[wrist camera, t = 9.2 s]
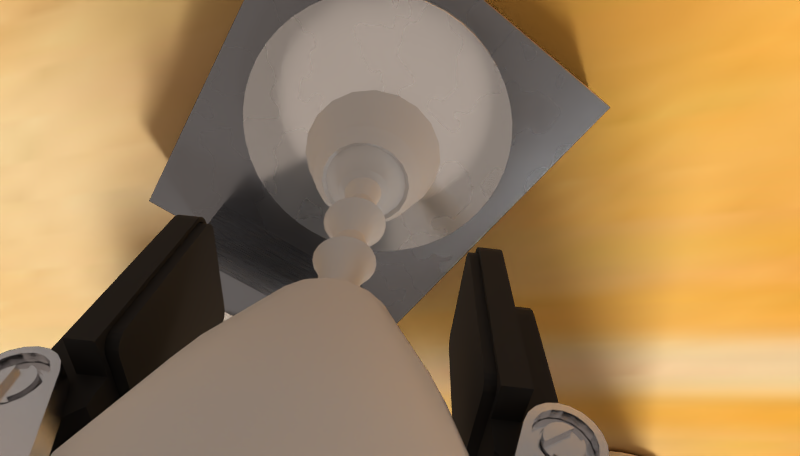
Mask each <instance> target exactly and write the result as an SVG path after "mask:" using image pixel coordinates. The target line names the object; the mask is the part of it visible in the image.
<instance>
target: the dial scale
mask: <svg viewBox="0 0 800 456" xmlns="http://www.w3.org/2000/svg"><path fill="white" fill-rule="evenodd" d="M370 90H377V91H381V92H386V93H390V94H394V95H398V96H400V97H401V98H403V99H404V100H406V101H408V102H409V103H411V104H413V105H414V106H416V107H417V108H418V109H419V110H420V111H421V112H422V114H423V115H424V116H425V117H426V118H427V119H428V120H429V122H430V123H431V124H432V127H433V129H434V132H435V134H436V137H437V139H438V142H439V153H440V165H439V168H438V171H437V175H436V178H435V181H434V183H433V184H432V186H431V187H430V188H429V190H428V191H427V193H426V194H425V195H424V197H423V198H421V199H420V200H419V201H417V202H416V203H415V204H413V205H412V206H411V207H409V209H407V210H406V211H405V212H403V213H402V214H401V215H399V216H398V217H397V218H394V219H391V220H388V221H385V223H386V227H385V231H384V234H383V236H382V237H381V238H380V240H379V241H378V242H376V243H375V244H374V245H372V246H370V248H371V249H372V251H373V253H374V255H375V256H376V268H375V272H374V273H373V275H372V276H371V277H370V279H369V280H367V281H366V282H364V283H363V284H361V285H360V287H361V288H363V289H366V290H368V291H369V292H370V293H372V294H373V295H374V296H375V297H376V298H377V299H378V300H380V301H381V302H382V303H383V304H384V305H385V307H386V308H387V310H388V311H389V313H390V315H391V316H392V318H393V319H394V321H395V322H396V324H397V323H398V322H399V321H400V320H401V319H402V318H403V317H404V316H405V315H406V314H407V313H408V312H409V311H410V310H411V309H412V308H413V307H414V306H415V305H416V304H417V303H418V302H419V301H420V300H421V299H422V298H423V297H424V296H425V295H426V294H427V293H428V292H429V291H430V289H431V288H432V287H433V286H434V285H435V284H436V283H437V282H438V281H439V280H440V279H441V278H442V277H443V276H444V275H445V274H446V273H447V272H448V271H449V270H450V269H451V268H452V267H453V266H454V265H455V264H456V263H457V262H458V261H459V260H460V259H461V258H462V257H463V256H464V255H465V254H466V253H467V252H468V251H469V250H470V249H471V248H472V247H473V246H474V245H475V244H476V243H477V242H478V241H479V240H480V239H481V238H482V237H483V236H484V235H485V234H486V233H487V232H488V231H489V230H490V229H491V228H492V227H493V226H494V225H495V224H496V223H497V222H498V221H499V220H500V219H501V218H502V217H503V216H504V215H505V214H506V213H507V212H508V210H509V209H510V208H511V207H512V206H513V205H514V204H515V203H516V202H517V201H518V200H519V199H520V198H521V197H522V196H523V195H524V194H525V193H526V192H527V191H528V190H529V189H530V188H531V187H532V186H533V185H534V184H535V183H536V182H537V181H538V180H539V179H540V178H541V177H542V176H543V175H544V174H545V173H546V172H547V171H548V170H549V169H550V168H551V167H552V166H553V165H554V164H555V163H556V162H557V161H558V160H559V159H560V158H561V157H562V156H563V155H564V154H565V153H566V152H567V151H568V150H569V149H570V148H571V147H572V146H573V145H574V144H575V143H576V142H577V141H578V140H579V139H580V138H581V137H582V136H583V135H584V134H585V133H586V131H587V130H588V129H589V128H590V127H591V126H592V125H593V124H594V123H595V122H596V121H597V120H598V119H599V118H600V117H601V116H602V115H603V114H604V113H605V112H606V111H607V110H608V109H609V108H610V107H609V106H608V105H607V104H606V103H605V102H604V101H603V100H601V99H600V98H599V97H598V96H597V95H596V94H595V93H594V92H593V91H592V90H591V89H589V88H588V87H587V86H586V85H585V84H584V83H582V82H581V81H580V80H579V79H578V78H577V77H575V76H574V75H573V74H572V73H571V72H569V71H568V70H567V69H566V68H565V67H564V66H562V65H561V64H560V63H559V62H558V61H556V60H555V59H554V58H553V57H552V56H551V55H549V54H548V53H547V52H546V51H545V50H543V49H542V48H541V47H540V46H539V45H538V44H536V43H535V42H534V41H533V40H532V39H530V38H529V37H528V36H527V35H526V34H525V33H523V32H522V31H521V30H520V29H519V28H518V27H516V26H515V25H514V24H513V23H512V22H510V21H509V20H508V19H507V18H506V17H505V16H503V15H502V14H501V13H500V12H499V11H497V10H496V9H495V8H494V7H493V6H492V5H490V4H489V3H488V2H487V1H486V0H244V1H243V4H242V6H241V8H240V10H239V12H238V14H237V16H236V18H235V20H234V23H233V25H232V27H231V29H230V31H229V33H228V35H227V37H226V39H225V42H224V44H223V46H222V48H221V50H220V52H219V54H218V56H217V59H216V61H215V63H214V65H213V67H212V69H211V71H210V73H209V75H208V78H207V80H206V82H205V84H204V86H203V88H202V90H201V92H200V94H199V97H198V99H197V101H196V103H195V105H194V107H193V109H192V111H191V114H190V116H189V118H188V120H187V122H186V124H185V126H184V128H183V130H182V133H181V135H180V137H179V139H178V141H177V143H176V145H175V147H174V149H173V152H172V154H171V156H170V158H169V160H168V162H167V164H166V166H165V168H164V171H163V173H162V175H161V177H160V179H159V181H158V183H157V185H156V188H155V190H154V192H153V194H152V196H151V198H150V200H149V201H150V202H152V203H154V204H155V205H157V206H159V207H161V208H163V209H164V210H166V211H168V212H170V213H172V214H173V215H175V216H176V215H188V216H197V217H203V218H204V219H205V220H206V223H207V224H211V225H212V226H213V229H214V236H215V243H216V250H217V257H218V264H219V272H220V279H221V286H222V293H223V300H224V308H225V315H224V320H223V322H224V321H226V320H227V319H229V318H231V317H232V316H234V315H236V314H237V313H239V312H241V311H243V310H244V309H246V308H248V307H249V306H251V305H253V304H255V303H256V302H258V301H260V300H261V299H263V298H265V297H266V296H268V295H270V294H272V293H273V292H275V291H277V290H278V289H280V288H282V287H284V286H286V285H289V284H292V283H294V282H297V281H300V280H303V279H315V278H318V274H317V272H316V271H315V269H314V266H313V261H312V259H313V254H314V251H315V250H316V248H317V247H318V245H320V244H321V243H322V242H324V241H325V240H327V239H330V238H329V236H328V234H327V233H326V231H325V227H324V218H325V213H326V212H327V210H328V209H329V206H328V205H327V204H326V203H325V202H324V201H323V199H322V197H321V195H320V194H319V192H318V190H317V188H316V184H315V183H314V181H313V177H312V175H311V173H310V172H309V167H308V162H307V157H306V145H307V137H308V132H309V130H310V128H311V126H312V124H313V122H314V120H315V118H316V116H317V115H318V114H319V113H320V112H321V111H322V110H323V109H324V108H325V107H326V106H327V105H328V104H330V103H331V102H332V101H333V100H335V99H338V98H340V97H342V96H344V95H347V94H349V93H351V92H358V91H370Z"/></svg>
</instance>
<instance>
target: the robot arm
mask: <svg viewBox="0 0 800 456" xmlns="http://www.w3.org/2000/svg"><path fill="white" fill-rule="evenodd" d="M224 315H225V308H224V300H223V293H222V286H221V279H220V272H219V264H218V257H217V250H216V243H215V236H214V229H213V226H212V225H211V224H207V223H206V220H205V219H204V218H203V217H197V216H188V215H176V216H175V217H174V218H173V219H172V220H171V221H170V222H169V223H168V224H167V225H166V226H165V227H164V228H163V230H162V231H161V232H160V233H159V234H158V235H157V236H156V237H155V238H154V239H153V240H152V241H151V242H150V243H149V245H148V246H147V247H146V248H145V249H144V250H143V251H142V252H141V253H140V254H139V255H138V256H137V257H136V259H135V260H134V261H133V262H132V263H131V264H130V265H129V266H128V267H127V268H126V269H125V270H124V271H123V272H122V274H121V275H120V276H119V277H118V278H117V279H116V280H115V281H114V282H113V283H112V284H111V285H110V286H109V288H108V289H107V290H106V291H105V292H104V293H103V294H102V295H101V296H100V297H99V298H98V299H97V300H96V301H95V303H94V304H93V305H92V306H91V307H90V308H89V309H88V310H87V311H86V312H85V313H84V314H83V315H82V316H81V318H80V319H79V320H78V321H77V322H76V323H75V324H74V325H73V326H72V327H71V328H70V329H69V330H68V332H67V333H66V334H65V335H64V336H63V337H62V338H61V339H60V340H59V341H58V342H57V343H56V344H55V346H54V347H53V348H52V349H49V348H44V347H39V346H36V347H22V348H18V349H13V350H9V351H6V352H4V353H1V354H0V456H51V454H52V453H53V452H54V451H55V450H56V449H57V448H59V447H60V446H61V445H62V444H64V443H65V442H66V441H67V440H68V439H70V438H71V437H72V436H73V435H75V434H76V433H77V432H78V431H80V430H81V429H82V428H83V427H85V426H86V425H87V424H88V423H90V422H91V421H92V420H93V419H95V418H96V417H97V416H98V415H100V414H101V413H102V412H103V411H105V410H106V409H107V408H108V407H110V406H111V405H112V404H113V403H115V402H116V401H117V400H118V399H120V398H121V397H122V396H123V395H125V394H126V393H127V392H128V391H130V390H131V389H132V388H133V387H135V386H136V385H137V384H138V383H140V382H141V381H142V380H143V379H145V378H146V377H147V376H148V375H150V374H151V373H152V372H153V371H155V370H156V369H157V368H158V367H160V366H161V365H162V364H163V363H165V362H166V361H167V360H168V359H169V358H171V357H172V356H173V355H175V354H176V353H177V352H179V351H180V350H181V349H183V348H184V347H185V346H187V345H188V344H189V343H191V342H192V341H193V340H195V339H196V338H197V337H199V336H200V335H202V334H203V333H205V332H207V331H208V330H210V329H212V328H214V327H215V326H217V325H219V324H220V323H222V322H223V320H224ZM449 358H450V380H451V401H452V418H453V420H454V423H455V425H456V427H457V429H458V432H459V434H460V436H461V438H462V441H463V443H464V445H465V447H466V450H467V452H468V454H469V456H636V455H632V454H627V453H623V452H614V451H609V450H608V444H607V442H606V440H605V438H604V435H603V433H602V432H601V431H600V429H599V428H598V427H597V426H596V424H595V423H594V422H593V421H592V420H591V419H589V418H588V417H587V416H586V415H585V414H583V413H582V412H580V411H578V410H576V409H574V408H572V407H570V406H567V405H563V404H560V403H558V399H557V396H556V392H555V388H554V385H553V381H552V378H551V374H550V370H549V367H548V363H547V360H546V356H545V352H544V349H543V345H542V342H541V338H540V334H539V331H538V327H537V324H536V320H535V316H534V314H533V311H532V310H531V309H530V308H522V307H515V305H514V300H513V296H512V292H511V287H510V283H509V279H508V274H507V270H506V266H505V262H504V257H503V253H502V251H501V250H497V249H488V248H479V247H478V248H477V249H476V252H475V253H469V252H468V254H467V257H466V262H465V267H464V271H463V276H462V281H461V286H460V290H459V295H458V300H457V305H456V310H455V314H454V319H453V324H452V329H451V333H450V341H449Z"/></svg>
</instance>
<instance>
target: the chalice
mask: <svg viewBox="0 0 800 456" xmlns="http://www.w3.org/2000/svg"><path fill="white" fill-rule="evenodd" d="M306 157H307V162H308V167H309V172H310V173H311V175H312V177H313V181H314V183H315V184H316V188H317V190H318V192H319V194H320V195H321V197H322V199H323V201H324V202H325V203H326V204H327V205H328V206H329V209H328V210H327V212H326V213H325V218H324V227H325V231H326V233H327V234H328V236H329V238H330V239H327V240H325V241H324V242H322V243H321V244H320V245H318V247H317V248H316V250H315V251H314V254H313V259H312V261H313V266H314V269H315V271H316V272H317V274H318V278H315V279H303V280H300V281H297V282H294V283H292V284H289V285H286V286H284V287H282V288H280V289H278V290H277V291H275V292H273V293H272V294H270V295H268V296H266V297H265V298H263V299H261V300H260V301H258V302H256V303H255V304H253V305H251V306H249V307H248V308H246V309H244V310H243V311H241V312H239V313H237V314H236V315H234V316H232V317H231V318H229V319H227V320H226V321H224V322H222V323H220V324H219V325H217V326H215V327H214V328H212V329H210V330H208V331H207V332H205V333H203V334H202V335H200V336H199V337H197V338H196V339H195V340H193V341H192V342H191V343H189V344H188V345H187V346H185V347H184V348H183V349H181V350H180V351H179V352H177V353H176V354H175V355H173V356H172V357H171V358H169V359H168V360H167V361H166V362H165V363H163V364H162V365H161V366H160V367H158V368H157V369H156V370H155V371H153V372H152V373H151V374H150V375H148V376H147V377H146V378H145V379H143V380H142V381H141V382H140V383H138V384H137V385H136V386H135V387H133V388H132V389H131V390H130V391H128V392H127V393H126V394H125V395H123V396H122V397H121V398H120V399H118V400H117V401H116V402H115V403H113V404H112V405H111V406H110V407H108V408H107V409H106V410H105V411H103V412H102V413H101V414H100V415H98V416H97V417H96V418H95V419H93V420H92V421H91V422H90V423H88V424H87V425H86V426H85V427H83V428H82V429H81V430H80V431H78V432H77V433H76V434H75V435H73V436H72V437H71V438H70V439H68V440H67V441H66V442H65V443H64V444H62V445H61V446H60V447H59V448H57V449H56V450H55V451H54V452H53V453H52V454H51V456H469V454H468V452H467V450H466V447H465V445H464V443H463V441H462V438H461V436H460V434H459V432H458V429H457V427H456V425H455V423H454V420H453V418H452V416H451V414H450V411H449V409H448V407H447V405H446V403H445V401H444V399H443V397H442V396H441V394H440V392H439V390H438V388H437V386H436V385H435V383H434V381H433V379H432V377H431V375H430V374H429V372H428V371H427V369H426V368H425V366H424V365H423V363H422V362H421V360H420V359H419V357H418V356H417V354H416V352H415V351H414V349H413V348H412V346H411V345H410V343H409V342H408V340H407V339H406V337H405V336H404V334H403V333H402V331H401V330H400V328H399V327H398V325H397V324H396V322H395V321H394V319H393V318H392V316H391V315H390V313H389V311H388V310H387V308H386V307H385V305H384V304H383V303H382V302H381V301H380V300H378V299H377V298H376V297H375V296H374V295H373V294H372V293H370V292H369V291H368V290H366V289H363V288H361V287H360V285H361V284H363V283H364V282H366V281H367V280H369V279H370V277H371V276H372V275H373V273H374V272H375V268H376V256H375V255H374V253H373V251H372V249H371V248H370V246H372V245H374V244H375V243H376V242H378V241H379V240H380V238H381V237H382V236H383V234H384V231H385V227H386V223H385V221H388V220H391V219H394V218H397V217H398V216H399V215H401V214H402V213H403V212H405V211H406V210H407V209H409V207H411V206H412V205H413V204H415V203H416V202H417V201H419V200H420V199H421V198H423V197H424V195H425V194H426V193H427V191H428V190H429V188H430V187H431V186H432V184H433V183H434V181H435V178H436V175H437V171H438V168H439V165H440V153H439V142H438V139H437V137H436V134H435V132H434V129H433V127H432V124H431V123H430V122H429V120H428V119H427V118H426V117H425V116H424V115H423V114H422V112H421V111H420V110H419V109H418V108H417V107H416V106H414V105H413V104H411V103H409V102H408V101H406V100H404V99H403V98H401V97H400V96H398V95H394V94H390V93H386V92H381V91H377V90H370V91H358V92H351V93H349V94H347V95H344V96H342V97H340V98H338V99H335V100H333V101H332V102H331V103H330V104H328V105H327V106H326V107H325V108H324V109H323V110H322V111H321V112H320V113H319V114H318V115H317V116H316V118H315V120H314V122H313V124H312V126H311V128H310V130H309V132H308V137H307V145H306Z"/></svg>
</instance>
